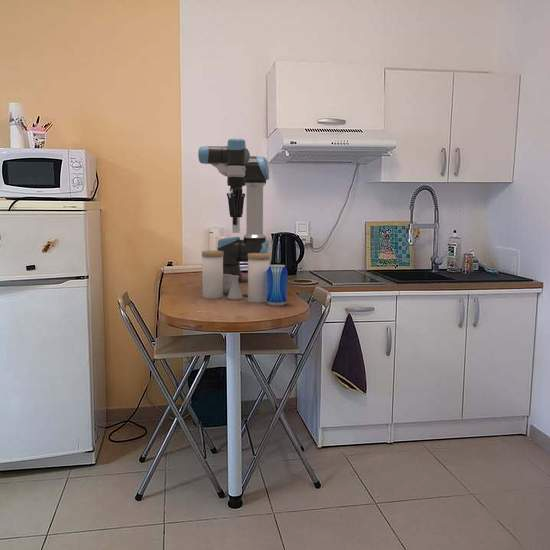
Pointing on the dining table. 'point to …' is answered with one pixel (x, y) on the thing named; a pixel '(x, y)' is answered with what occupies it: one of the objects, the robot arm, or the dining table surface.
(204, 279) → the canister left
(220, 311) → the dining table surface
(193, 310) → the dining table surface
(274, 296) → the beer can
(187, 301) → the dining table surface
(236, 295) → the flask
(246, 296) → the kettle cord
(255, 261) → the canister right
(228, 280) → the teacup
